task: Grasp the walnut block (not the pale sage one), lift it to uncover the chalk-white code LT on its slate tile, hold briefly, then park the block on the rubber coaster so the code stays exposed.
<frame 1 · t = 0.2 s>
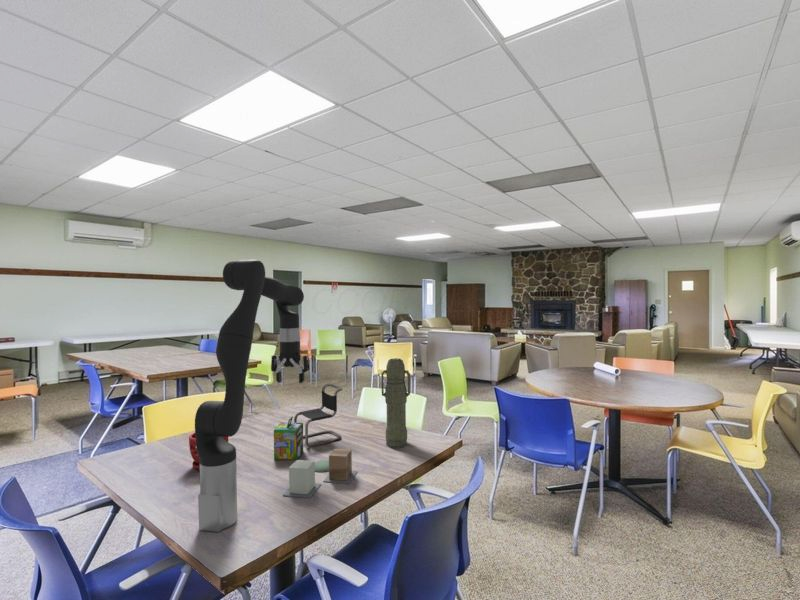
hand: (290, 382, 157), 29 cm above the table, fingers open, 8 cm apart
chalk box: (288, 455, 161), on the table
thermos: (396, 444, 171), on the table
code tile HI: (302, 490, 132), on the table
sage block: (302, 489, 132), resting on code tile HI
walnut block: (340, 475, 141), resting on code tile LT
chair: (318, 440, 177), on the table
plant pot: (209, 465, 152), on the table
rubber coaster: (323, 466, 150), on the table
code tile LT: (340, 476, 141), on the table
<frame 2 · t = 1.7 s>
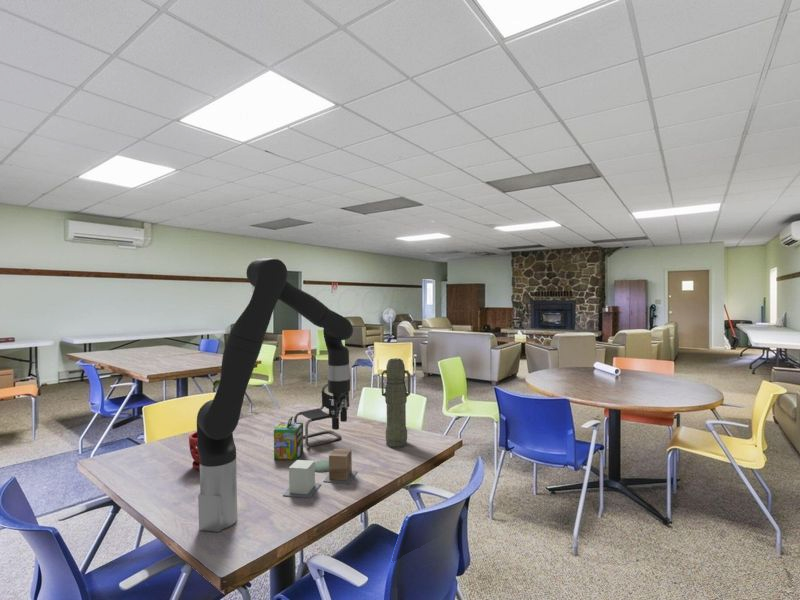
hand: (339, 425, 141), 18 cm above the table, fingers open, 8 cm apart
nothing on the table moved.
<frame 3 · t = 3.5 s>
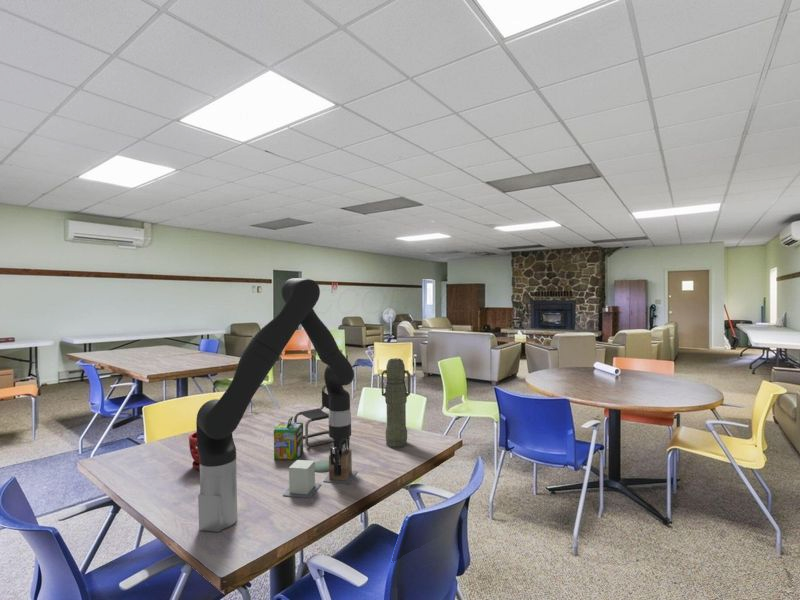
hand: (340, 470, 141), 2 cm above the table, fingers closed on walnut block, 6 cm apart
walnut block: (340, 475, 141), resting on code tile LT, touching gripper
everything else where it was.
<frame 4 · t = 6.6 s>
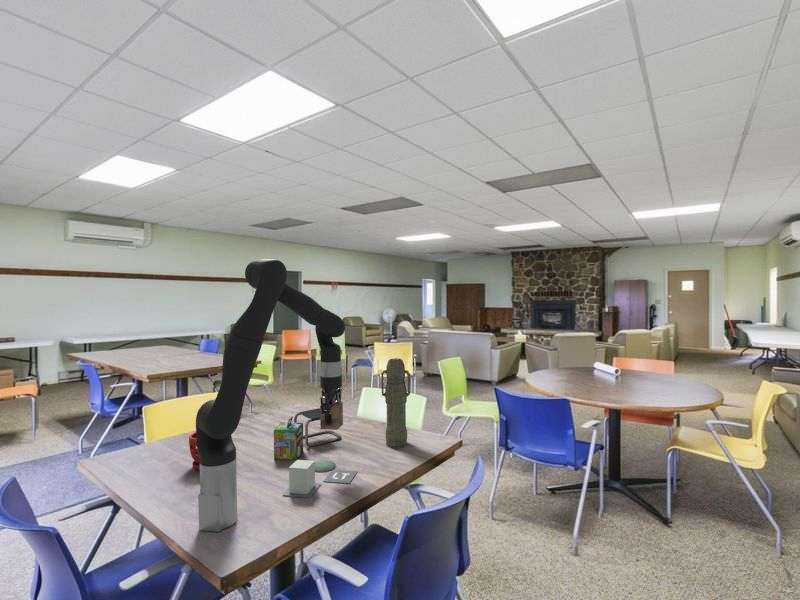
hand: (331, 421, 145), 18 cm above the table, fingers closed on walnut block, 6 cm apart
walnut block: (331, 426, 145), point 16 cm above the table, touching gripper
everything else where it was.
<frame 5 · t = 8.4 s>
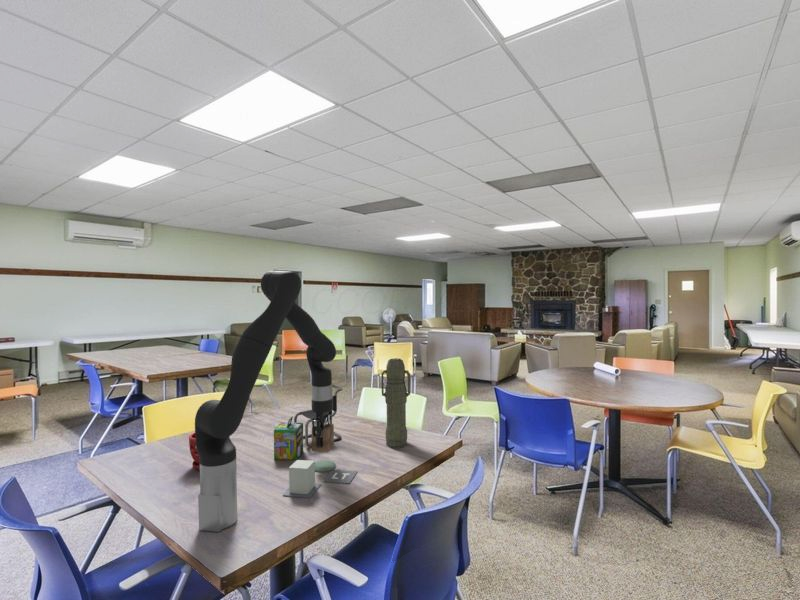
hand: (323, 443, 150), 8 cm above the table, fingers closed on walnut block, 6 cm apart
walnut block: (323, 448, 150), point 7 cm above the table, touching gripper
everything else where it was.
when the fingers open (3 cm above the table, at t = 9.7 s): walnut block drops 1 cm, resting on rubber coaster.
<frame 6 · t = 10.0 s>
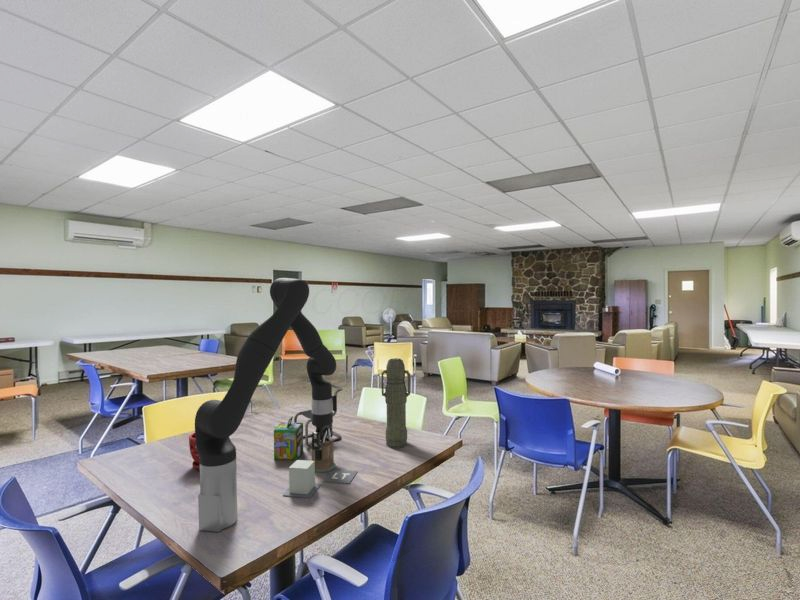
hand: (322, 455, 150), 4 cm above the table, fingers open, 8 cm apart
walnut block: (322, 465, 150), resting on rubber coaster
everything else where it was.
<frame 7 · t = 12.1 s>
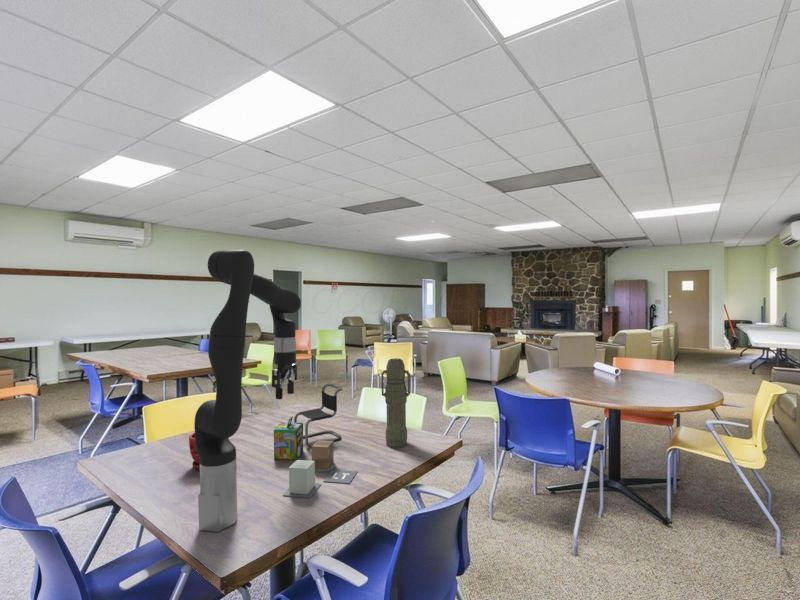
hand: (285, 396, 146), 27 cm above the table, fingers open, 8 cm apart
nothing on the table moved.
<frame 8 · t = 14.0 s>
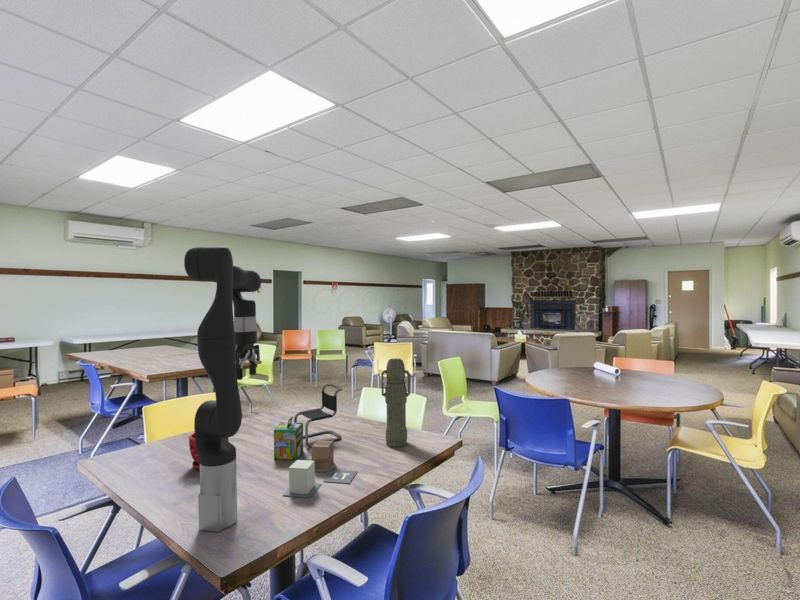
hand: (246, 377, 142), 34 cm above the table, fingers open, 8 cm apart
nothing on the table moved.
at the end: walnut block inside the target area on the rubber coaster (0.1 cm from its centre), point 0.4 cm above the rubber coaster's base; walnut block tilted 0°; walnut block touching rubber coaster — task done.
